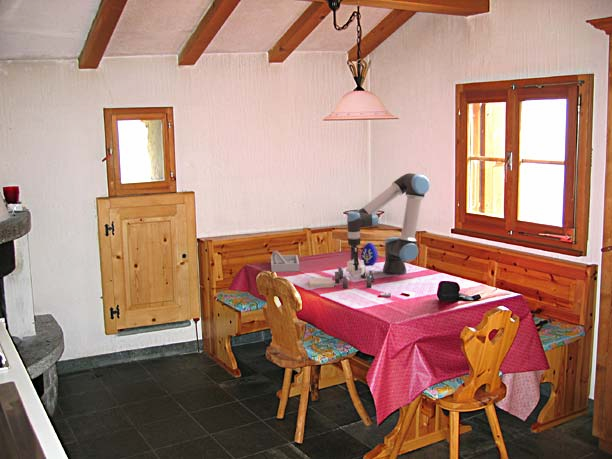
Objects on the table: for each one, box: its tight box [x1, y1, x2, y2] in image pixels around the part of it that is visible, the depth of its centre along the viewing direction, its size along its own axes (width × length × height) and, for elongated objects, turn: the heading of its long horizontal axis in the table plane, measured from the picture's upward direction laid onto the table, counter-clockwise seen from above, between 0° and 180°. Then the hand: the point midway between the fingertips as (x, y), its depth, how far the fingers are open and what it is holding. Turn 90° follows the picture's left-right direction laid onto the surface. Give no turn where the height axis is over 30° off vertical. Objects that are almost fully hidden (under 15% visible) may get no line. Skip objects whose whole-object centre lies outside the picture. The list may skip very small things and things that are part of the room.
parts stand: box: [308, 277, 335, 289], centre depth 419 cm, size 14×14×2 cm
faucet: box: [271, 250, 295, 264], centre depth 471 cm, size 14×11×20 cm
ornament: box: [360, 242, 379, 266], centre depth 472 cm, size 11×9×15 cm
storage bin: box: [270, 254, 300, 273], centre depth 471 cm, size 18×29×5 cm, turn 3°
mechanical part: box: [345, 257, 366, 279], centre depth 421 cm, size 11×12×12 cm
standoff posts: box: [334, 266, 375, 290], centre depth 422 cm, size 24×28×7 cm
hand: (355, 273), depth 422 cm, fingers closed on mechanical part, 12 cm apart
